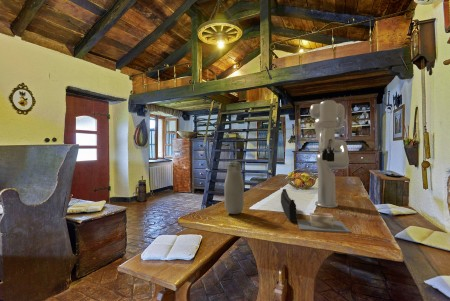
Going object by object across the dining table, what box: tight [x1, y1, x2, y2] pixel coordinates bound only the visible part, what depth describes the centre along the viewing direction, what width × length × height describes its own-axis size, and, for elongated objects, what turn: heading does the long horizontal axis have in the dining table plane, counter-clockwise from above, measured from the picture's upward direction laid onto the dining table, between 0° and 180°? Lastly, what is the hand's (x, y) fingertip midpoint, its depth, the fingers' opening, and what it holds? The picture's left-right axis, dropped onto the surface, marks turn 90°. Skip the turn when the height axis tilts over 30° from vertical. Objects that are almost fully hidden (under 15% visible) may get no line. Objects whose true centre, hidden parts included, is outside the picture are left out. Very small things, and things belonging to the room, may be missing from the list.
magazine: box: [280, 188, 298, 222], centre depth 123 cm, size 17×3×30 cm
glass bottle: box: [223, 160, 245, 215], centre depth 125 cm, size 10×10×28 cm
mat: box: [296, 218, 351, 234], centre depth 105 cm, size 13×20×1 cm, turn 80°
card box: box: [309, 212, 334, 227], centre depth 105 cm, size 9×5×5 cm, turn 77°
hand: (327, 160), depth 116 cm, fingers open, 9 cm apart
